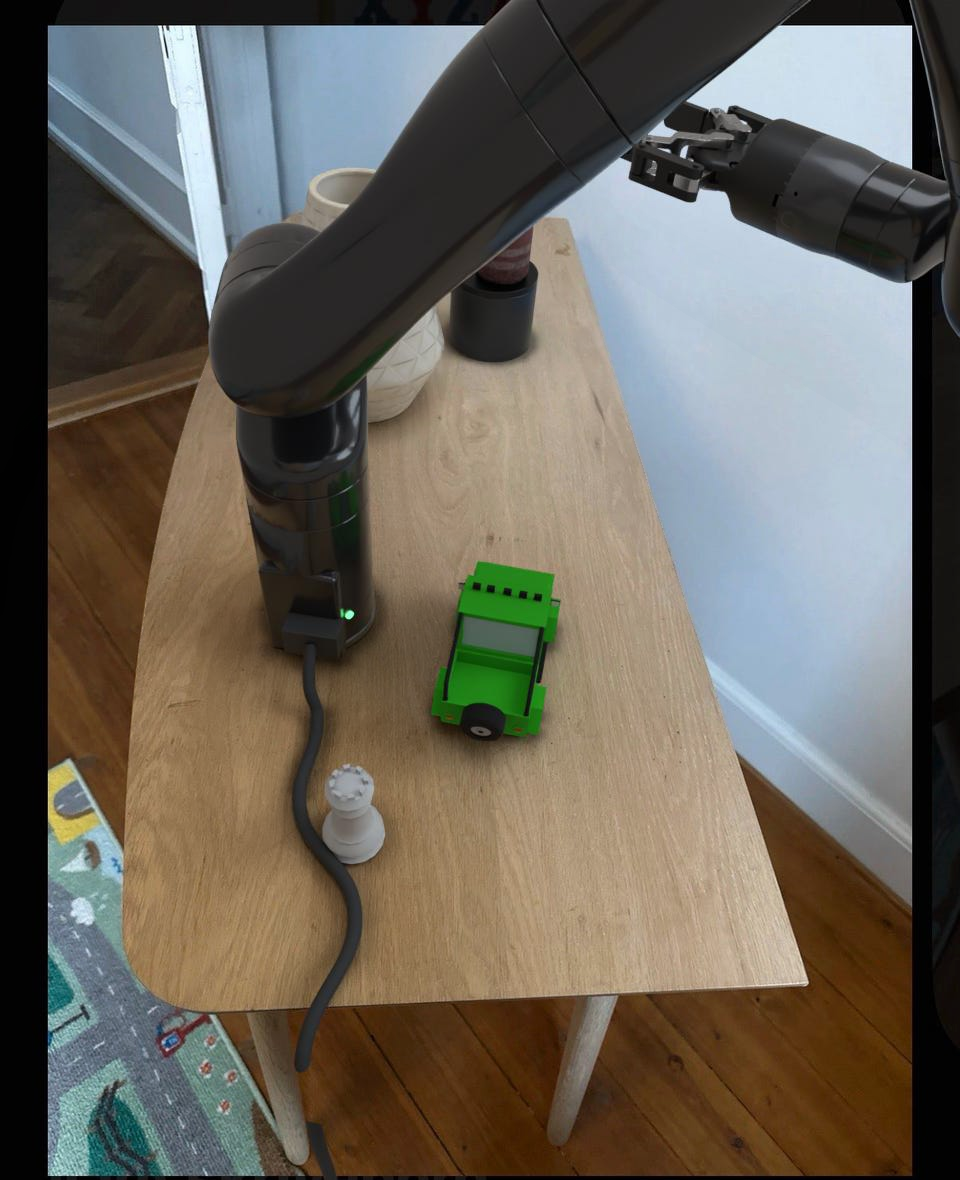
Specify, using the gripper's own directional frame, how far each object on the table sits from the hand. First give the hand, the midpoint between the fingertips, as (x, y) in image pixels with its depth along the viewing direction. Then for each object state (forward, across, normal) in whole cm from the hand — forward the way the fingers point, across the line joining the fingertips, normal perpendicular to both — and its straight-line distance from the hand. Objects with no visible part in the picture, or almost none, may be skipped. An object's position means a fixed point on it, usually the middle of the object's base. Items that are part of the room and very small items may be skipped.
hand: (637, 122), depth 73 cm
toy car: (-16, +31, +32) cm, 48 cm away
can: (+18, -6, +23) cm, 30 cm away
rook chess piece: (-19, +49, +32) cm, 62 cm away
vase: (+21, +13, +32) cm, 41 cm away
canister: (+19, -6, +32) cm, 38 cm away
